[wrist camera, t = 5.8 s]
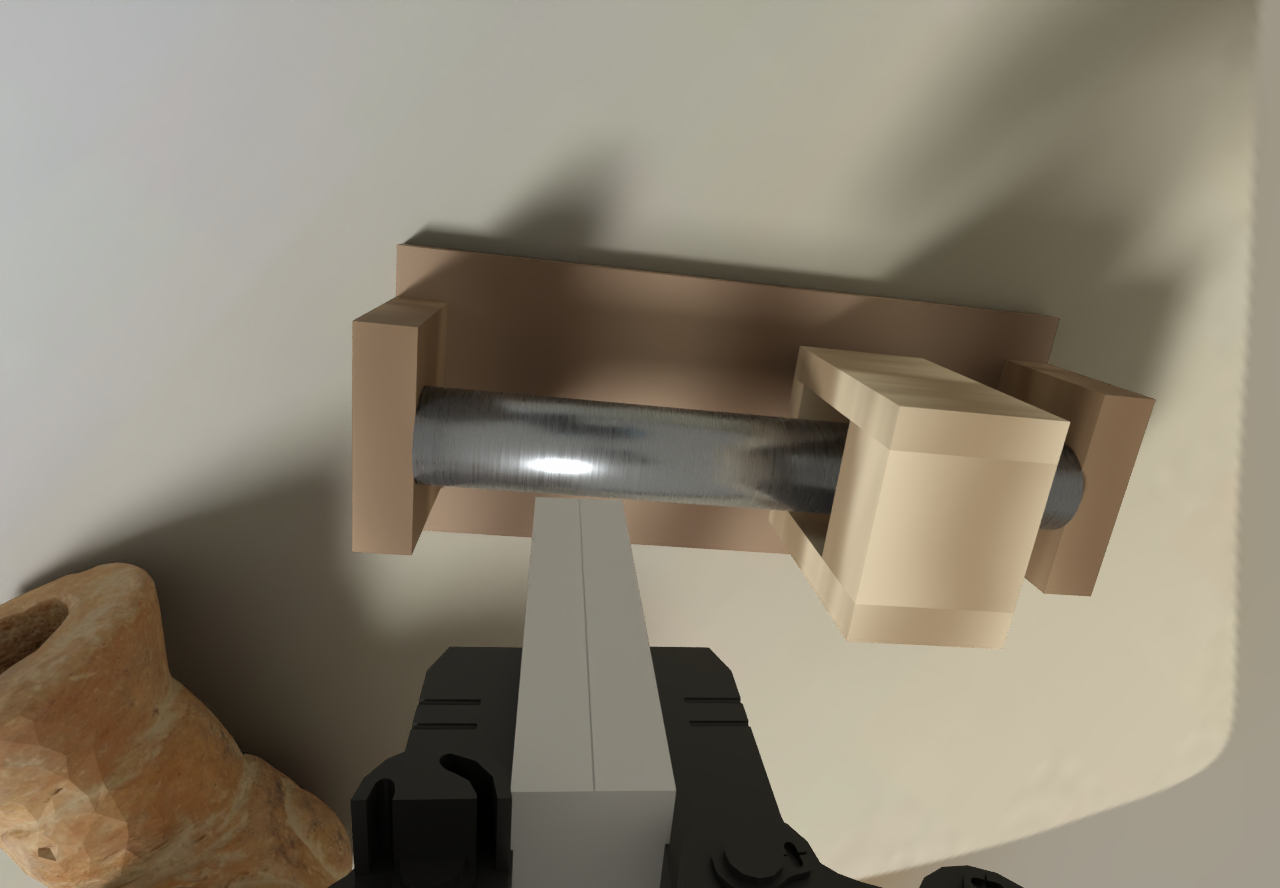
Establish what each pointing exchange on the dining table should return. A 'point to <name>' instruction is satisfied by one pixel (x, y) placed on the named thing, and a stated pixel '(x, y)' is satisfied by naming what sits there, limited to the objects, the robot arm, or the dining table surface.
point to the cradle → (684, 386)
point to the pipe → (136, 757)
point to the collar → (921, 499)
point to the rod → (647, 453)
